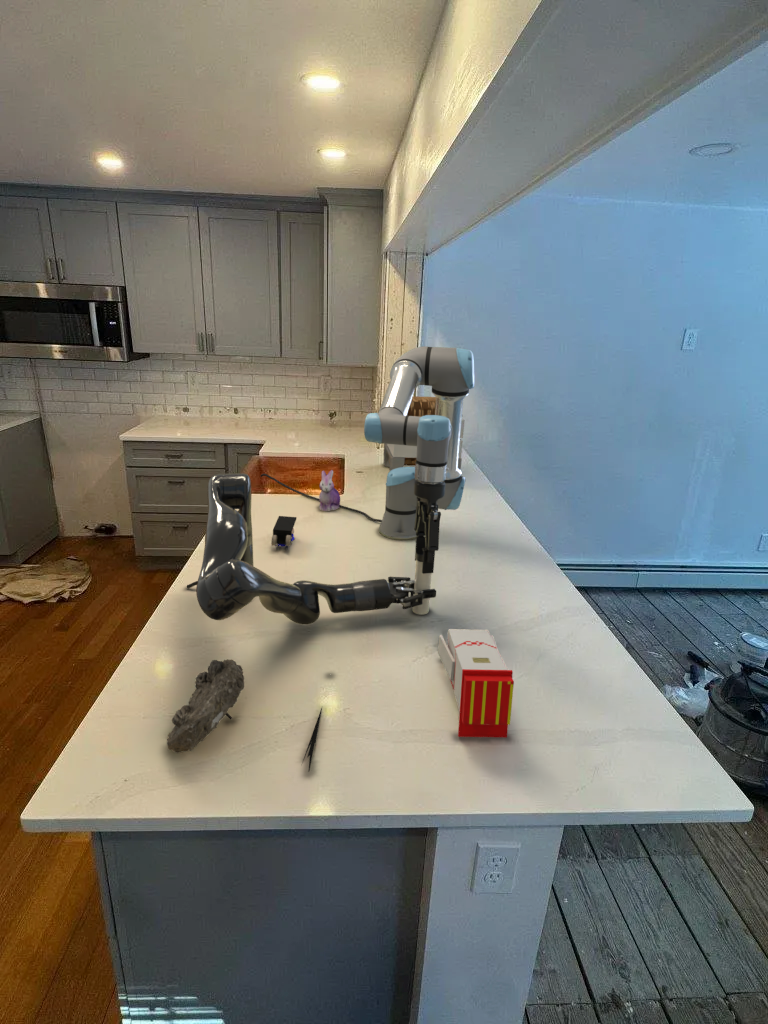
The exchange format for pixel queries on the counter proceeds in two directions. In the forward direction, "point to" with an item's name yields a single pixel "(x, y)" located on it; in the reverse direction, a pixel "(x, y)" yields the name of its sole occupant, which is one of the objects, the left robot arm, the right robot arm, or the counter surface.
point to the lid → (419, 555)
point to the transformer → (407, 454)
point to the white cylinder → (421, 587)
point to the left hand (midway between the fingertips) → (431, 588)
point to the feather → (313, 740)
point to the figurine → (328, 493)
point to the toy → (478, 682)
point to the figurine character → (283, 531)
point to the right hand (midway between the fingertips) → (423, 566)
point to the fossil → (206, 705)
